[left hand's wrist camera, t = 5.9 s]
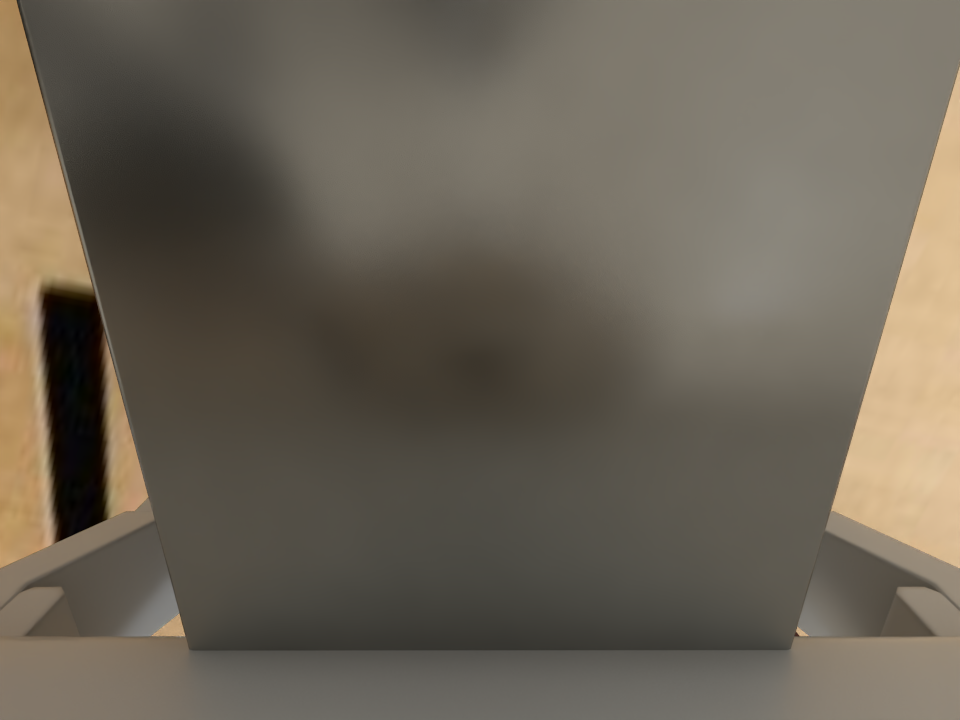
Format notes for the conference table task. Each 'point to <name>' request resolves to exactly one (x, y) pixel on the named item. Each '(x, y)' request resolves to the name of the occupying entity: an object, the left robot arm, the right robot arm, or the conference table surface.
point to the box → (493, 300)
